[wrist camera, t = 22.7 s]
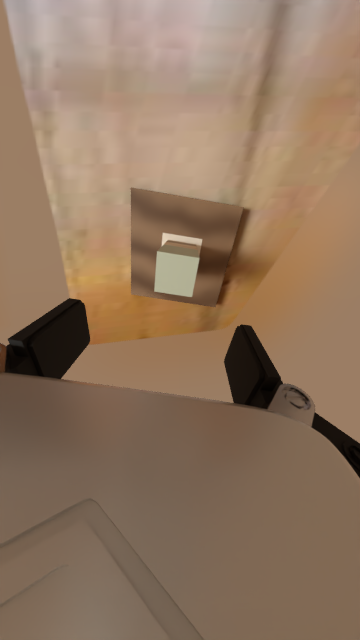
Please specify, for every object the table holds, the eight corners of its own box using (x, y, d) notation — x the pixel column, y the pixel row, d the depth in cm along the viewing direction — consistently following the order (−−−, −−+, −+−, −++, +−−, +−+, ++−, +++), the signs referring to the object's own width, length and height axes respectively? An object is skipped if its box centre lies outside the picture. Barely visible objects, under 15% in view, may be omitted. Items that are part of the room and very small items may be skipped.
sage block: (163, 244, 25) (157, 251, 20) (197, 249, 25) (199, 258, 20) (160, 277, 27) (154, 291, 22) (191, 282, 28) (191, 297, 22)
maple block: (168, 239, 30) (163, 244, 25) (196, 244, 30) (197, 249, 25) (165, 268, 33) (160, 277, 27) (190, 272, 33) (191, 282, 28)
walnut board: (134, 189, 28) (130, 187, 26) (240, 207, 29) (243, 207, 27) (134, 290, 38) (131, 294, 36) (214, 303, 38) (215, 307, 36)
